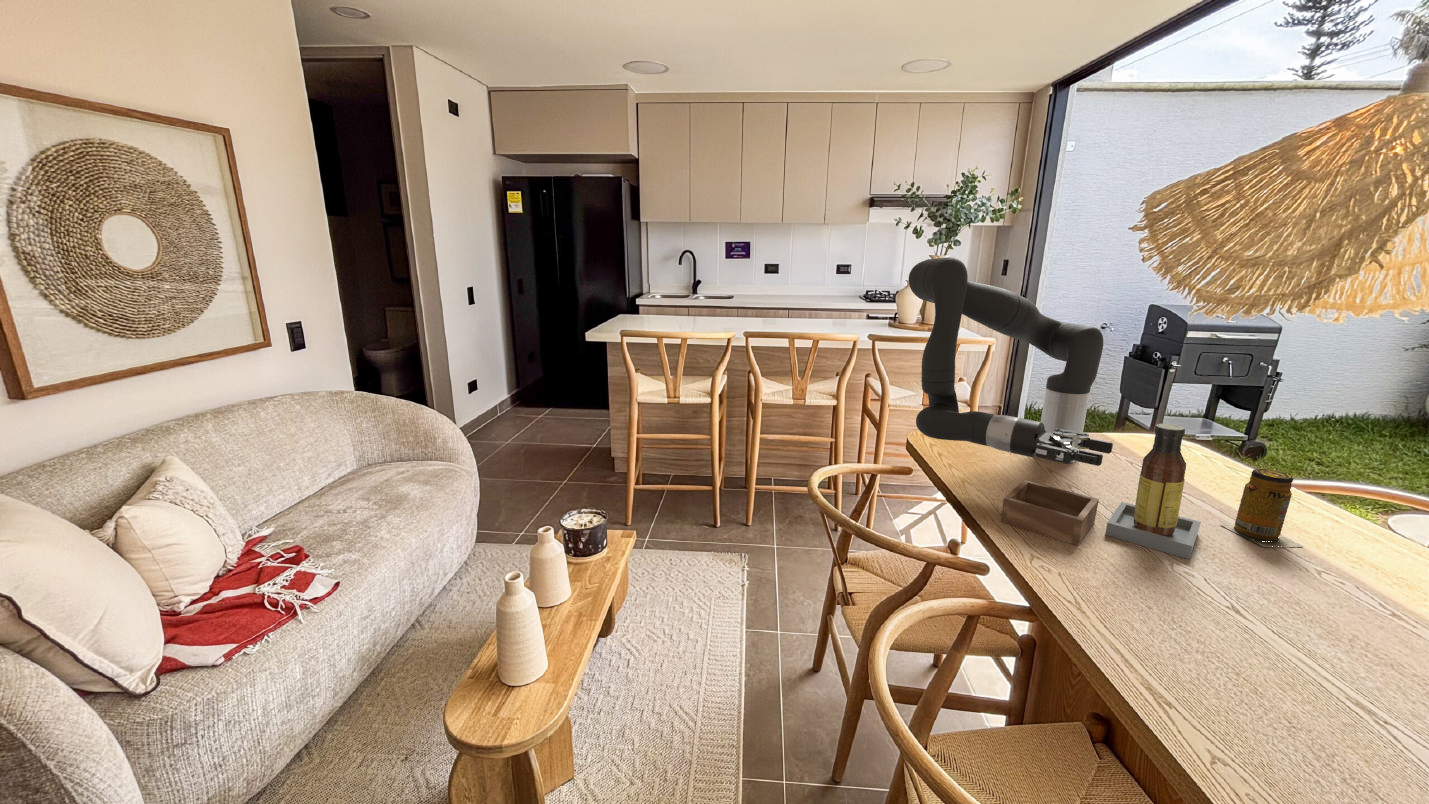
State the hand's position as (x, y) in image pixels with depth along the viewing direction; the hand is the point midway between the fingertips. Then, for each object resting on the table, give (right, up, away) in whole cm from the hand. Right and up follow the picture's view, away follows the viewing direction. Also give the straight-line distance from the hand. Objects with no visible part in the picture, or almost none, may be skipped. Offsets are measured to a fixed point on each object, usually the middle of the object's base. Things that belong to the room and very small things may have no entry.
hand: (1107, 454), depth 104 cm
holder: (-10, -13, +2) cm, 17 cm away
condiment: (+25, -15, -4) cm, 30 cm away
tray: (+6, -15, -3) cm, 16 cm away
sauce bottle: (+6, -14, -3) cm, 15 cm away
